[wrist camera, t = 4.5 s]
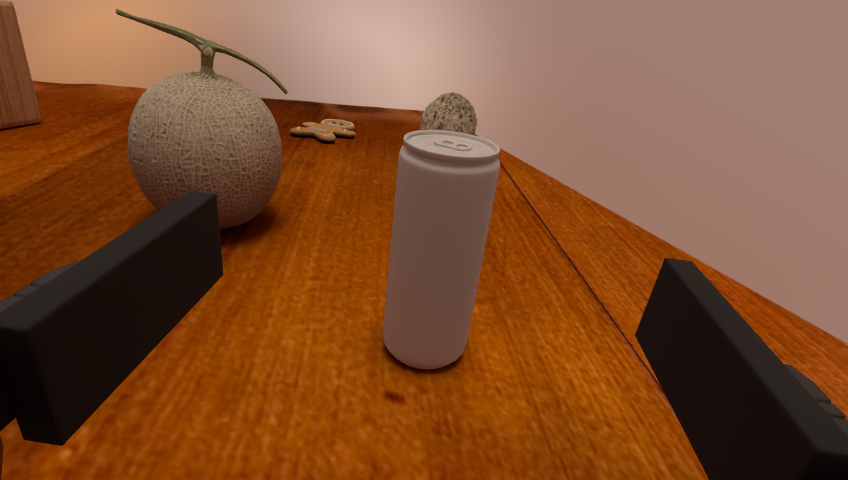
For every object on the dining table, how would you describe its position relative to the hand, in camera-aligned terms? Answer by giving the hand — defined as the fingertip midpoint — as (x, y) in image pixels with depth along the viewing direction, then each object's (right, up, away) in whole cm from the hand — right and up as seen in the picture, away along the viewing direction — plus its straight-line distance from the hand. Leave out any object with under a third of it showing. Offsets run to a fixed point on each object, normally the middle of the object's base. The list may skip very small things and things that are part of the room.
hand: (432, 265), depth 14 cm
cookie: (-14, +16, +53) cm, 57 cm away
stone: (+2, +7, +38) cm, 39 cm away
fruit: (-17, +2, +25) cm, 30 cm away
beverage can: (0, -6, +13) cm, 15 cm away
